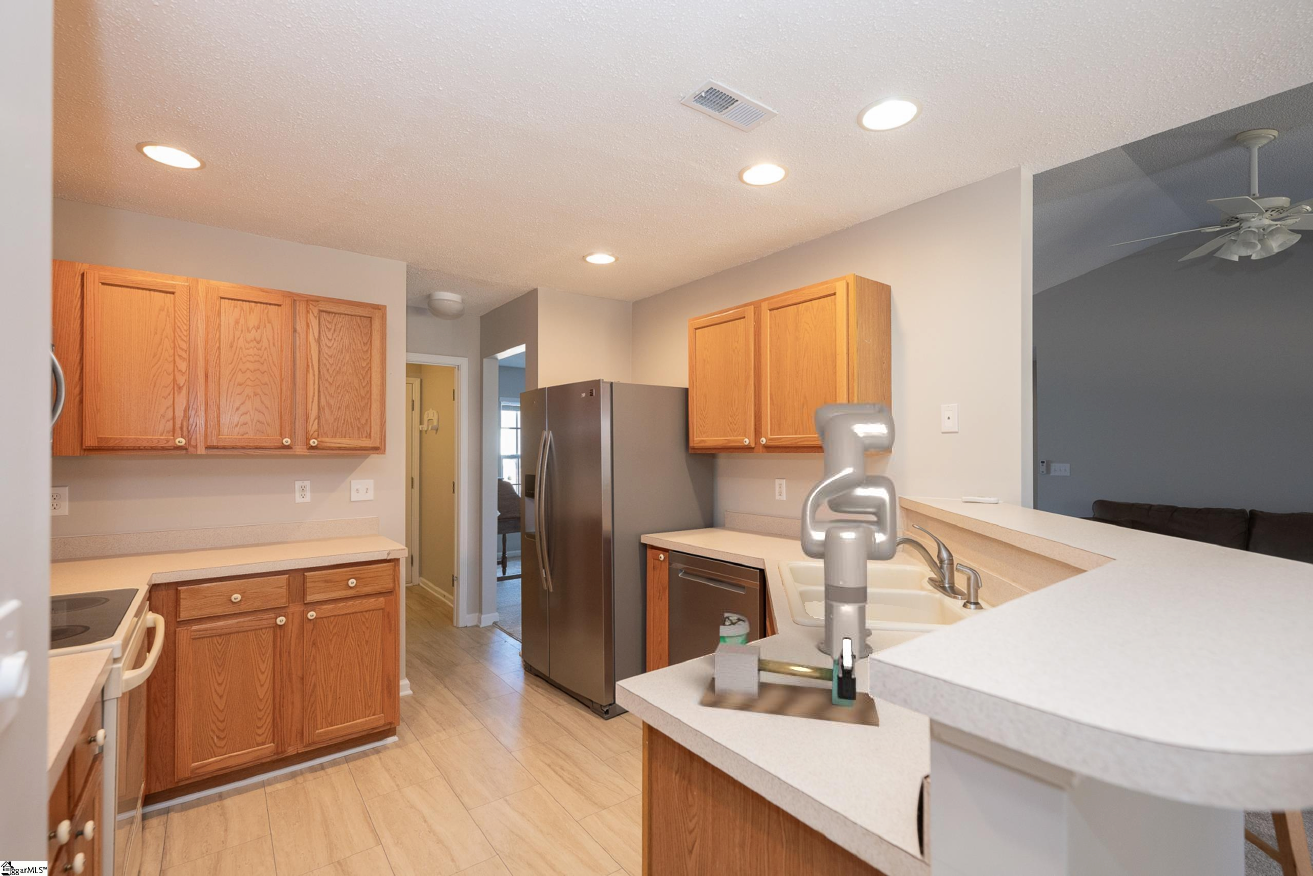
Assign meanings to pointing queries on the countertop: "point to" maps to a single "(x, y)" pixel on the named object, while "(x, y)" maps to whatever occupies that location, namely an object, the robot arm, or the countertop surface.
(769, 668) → the brass rod with block
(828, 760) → the countertop surface
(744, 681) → the block
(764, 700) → the walnut board
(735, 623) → the food container
